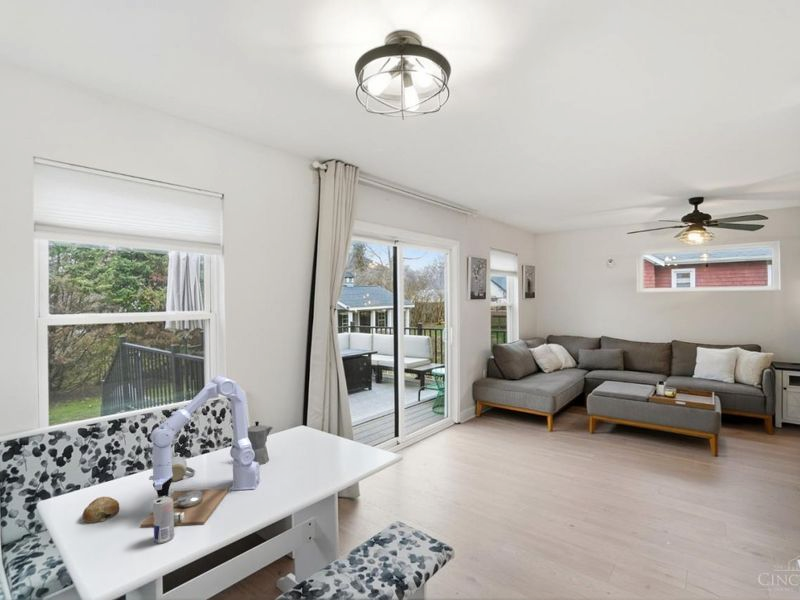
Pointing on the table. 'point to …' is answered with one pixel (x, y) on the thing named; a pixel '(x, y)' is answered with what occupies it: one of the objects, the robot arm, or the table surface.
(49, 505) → the table surface
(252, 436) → the coffeepot
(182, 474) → the ceramic mug
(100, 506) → the bread roll
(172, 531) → the energy drink
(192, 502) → the grey metal rounded piece
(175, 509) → the stand board
